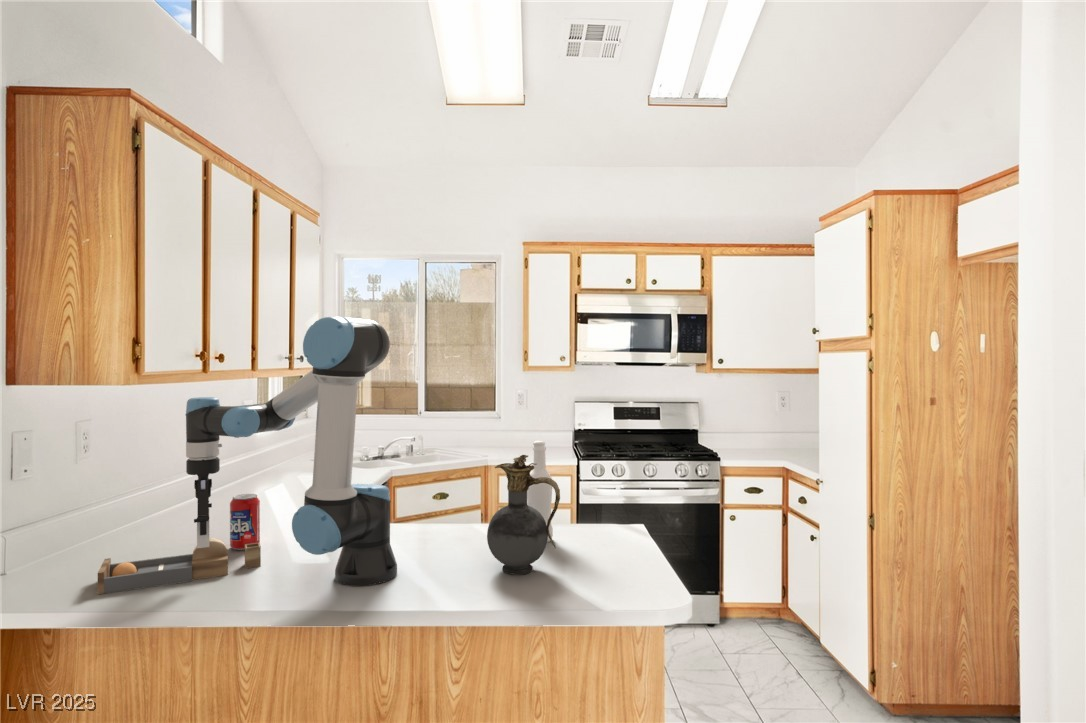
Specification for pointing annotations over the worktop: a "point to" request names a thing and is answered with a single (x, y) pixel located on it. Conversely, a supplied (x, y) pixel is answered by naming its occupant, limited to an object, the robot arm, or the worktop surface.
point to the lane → (151, 573)
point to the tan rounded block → (210, 560)
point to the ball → (124, 569)
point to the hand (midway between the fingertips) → (203, 540)
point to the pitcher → (520, 521)
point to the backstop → (103, 574)
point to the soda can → (244, 521)
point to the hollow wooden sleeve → (252, 555)
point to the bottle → (540, 485)
